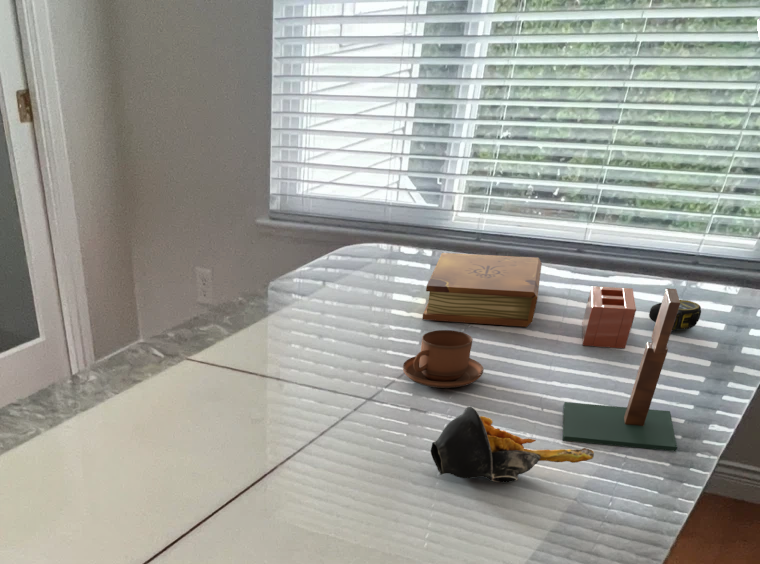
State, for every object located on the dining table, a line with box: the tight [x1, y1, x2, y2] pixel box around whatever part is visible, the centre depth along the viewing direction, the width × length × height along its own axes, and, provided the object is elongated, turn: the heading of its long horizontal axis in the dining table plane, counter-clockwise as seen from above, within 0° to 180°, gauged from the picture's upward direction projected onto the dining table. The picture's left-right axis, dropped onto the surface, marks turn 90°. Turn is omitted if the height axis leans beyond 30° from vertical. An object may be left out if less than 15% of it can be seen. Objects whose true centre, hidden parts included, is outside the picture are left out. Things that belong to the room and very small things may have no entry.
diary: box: [422, 252, 543, 328], centre depth 154 cm, size 23×19×6 cm
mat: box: [562, 401, 678, 452], centre depth 115 cm, size 14×12×1 cm
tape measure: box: [648, 299, 702, 332], centre depth 142 cm, size 7×7×4 cm
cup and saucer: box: [402, 329, 485, 389], centre depth 127 cm, size 12×12×6 cm
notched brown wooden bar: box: [624, 287, 681, 426], centre depth 109 cm, size 2×6×16 cm, turn 163°
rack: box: [581, 285, 637, 350], centre depth 140 cm, size 7×12×6 cm, turn 163°
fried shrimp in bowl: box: [430, 405, 595, 483], centre depth 102 cm, size 9×11×18 cm
